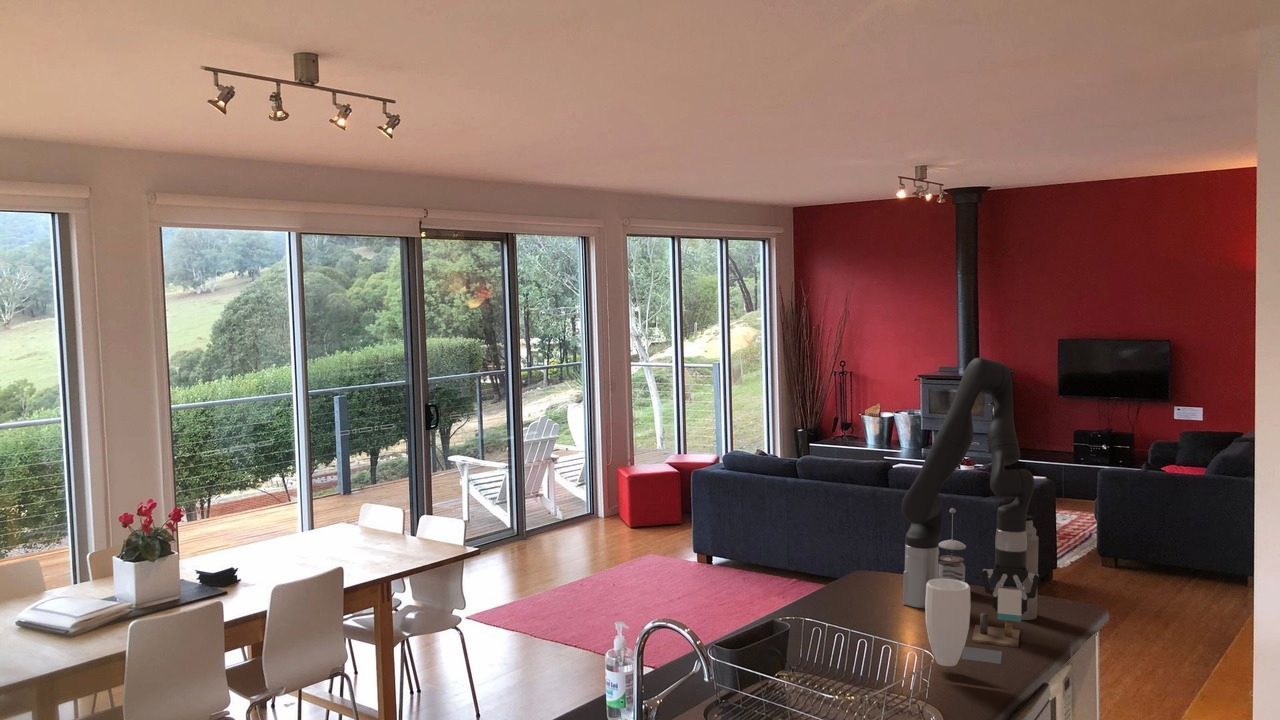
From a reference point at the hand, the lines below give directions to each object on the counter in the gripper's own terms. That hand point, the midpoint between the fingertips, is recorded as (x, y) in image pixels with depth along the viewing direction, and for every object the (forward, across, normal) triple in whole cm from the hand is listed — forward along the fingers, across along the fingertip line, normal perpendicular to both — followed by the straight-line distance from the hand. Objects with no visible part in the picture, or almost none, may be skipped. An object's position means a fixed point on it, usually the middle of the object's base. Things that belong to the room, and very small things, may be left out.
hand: (1009, 611), depth 252 cm
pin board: (+8, -3, 0) cm, 8 cm away
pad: (+8, -6, -15) cm, 18 cm away
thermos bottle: (+8, +2, +23) cm, 24 cm away
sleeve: (+1, 0, 0) cm, 1 cm away
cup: (+8, -13, -30) cm, 34 cm away
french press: (+8, -18, +40) cm, 45 cm away
